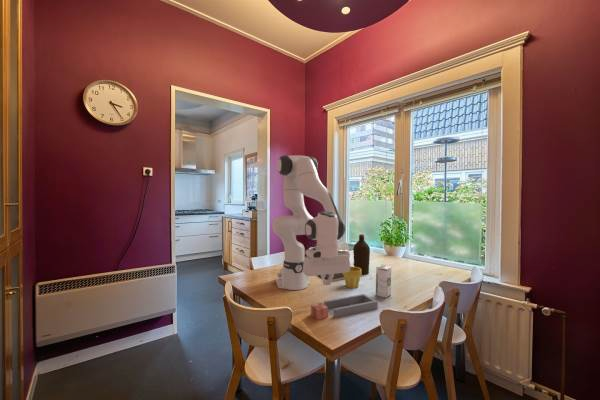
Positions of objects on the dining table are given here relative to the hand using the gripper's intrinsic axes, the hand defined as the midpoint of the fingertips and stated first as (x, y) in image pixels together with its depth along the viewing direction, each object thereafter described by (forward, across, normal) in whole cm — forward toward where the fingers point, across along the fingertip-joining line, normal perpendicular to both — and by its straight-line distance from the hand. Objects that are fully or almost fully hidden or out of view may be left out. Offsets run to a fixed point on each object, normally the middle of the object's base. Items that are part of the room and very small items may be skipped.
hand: (327, 284), depth 104 cm
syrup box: (+13, -36, -11) cm, 40 cm away
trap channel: (+13, -12, -1) cm, 17 cm away
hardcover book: (+14, -25, -50) cm, 58 cm away
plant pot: (+13, -28, -27) cm, 41 cm away
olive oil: (+13, -47, -48) cm, 69 cm away
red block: (+10, +1, +1) cm, 11 cm away
